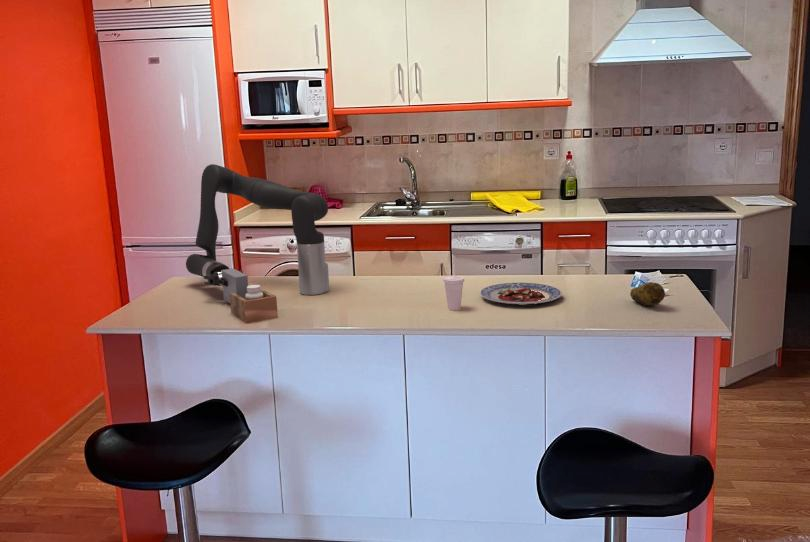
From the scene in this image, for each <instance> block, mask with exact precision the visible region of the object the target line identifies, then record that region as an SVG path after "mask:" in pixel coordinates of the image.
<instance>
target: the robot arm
mask: <svg viewBox="0 0 810 542" xmlns="http://www.w3.org/2000/svg"><path fill="white" fill-rule="evenodd" d="M217 193H221V194H228V195H234V196H238V197H241V198H243V199H245V200H246V201H248V202H249V203H252V204H254V205H257V206H260V207H262V208H267V209H272V210H286V211H291V219H292V220H291V222H292V229H293V234H294V237H295V240H296V252H297V253H296V254H297V266H298V267H297V268H298V282H299V284H298V285H299V293H300V294H302V295H304V296H305V295H306V296H313V295H320V294H321V295H322V294H325V293H327V292H330V279H329V276H330V275H329V265H328V263H327V262H326V249H325V235H324V233H323V232H322V231H319V230H317V228H316V223H315V222H317V221H320V220H322V219H324V218H325V217H326V216H327V214H328V211H329V205H328V203H327V200H326V199H325V198H324V196H322V195H320V194H318V193H316V192H315V193H314V192H308V191H302V190H298V189H294V188H292V187H290V186H289V187H288V186H286V185H283V184H280V183H277V182H274V181H270V180H268V179H265V178H260V177H254V176H253V177H251V176H249V177H248V176H245V175H244V174H243V175H242V174H241V173H238V172H236V171H235V170H232V169H230V168H228V167H224V166H222V165H218V164H213V163H212V164H208V165H207V166H205V168H204V169H203V172H202V175H201V182H200V213H199V222H198V228H197V233H196V238H195V246H196V247H198V248H200V249H202V250H204V251H205V252H206V255H205V254H200V253H192V254H190V255H189V256H188V257H187V259H186V261H185V268H186V270H187V271H188V273H190V274H192V275H196V276H201V277H202V278H203V281H204V282H203V284H205V285H210V286H215V287H223V286H225V287H228V281H227V280H226V279H225V278H223V277H222V272H221V270H226V269H230V266H228V265H226V264H224V263H223V262H221V261H218V260H217V255H216V254H217V253H216V246H217V245H216V244H217V238H218V233H219V219H218V214H217V210H216V195H217ZM238 271H239V272H241V273H243V274H244V270H238Z"/></svg>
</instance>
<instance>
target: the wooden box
mask: <svg viewBox="0 0 810 542" xmlns="http://www.w3.org/2000/svg"><path fill="white" fill-rule="evenodd" d="M260 289H261V290H260V292H262V293H263V297H264V298H258V299H252V300H246V299H244V298H242V297H240V296H239V295H237V294H235V293H230V303H229V304H230V314H232V315H233V316H235V317H236V318H237V319H239V320H241V321H242V322H244V323H245V324H249V323H254V322H261V321H266V320H270V319H275V318H279V316H278V315H279V313H278V304H277V303H278V302H277V299H278V298H277V296H276V295H275V294H273V293H272V292H271V293H270V292H268V291H267V290H264V289H263V288H261V287H260Z"/></svg>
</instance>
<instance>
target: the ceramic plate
mask: <svg viewBox="0 0 810 542" xmlns="http://www.w3.org/2000/svg"><path fill="white" fill-rule="evenodd" d="M531 290H532V291H531ZM533 290H534V291H533ZM535 291H537V292H535ZM538 291H541V292H544V293H547V294H548V295H549V298H548V299H545V300H541V299H542V298H545V296H544V295H543V294H542V293H540V292H538ZM479 292H480V293H479V294H480V296H481V297H483V298H484V299H486V300H489V301H492V302H495V303H496V302H497V303H500V302H501V303H500V304H503V303H507V304H506V305H509V304H534V305H536V304H535V303H539V304H543V303H547V302H552V301H555V300H557V299H559V298H561V297H562V295H563V292H562V291H561V289H560V288H557V287H555V286H554V285H548V284H542V283H538V282H537V283H536V282H505V283H504V282H503V283H497V284H492V285H489V286H486V287H484V288H483V289H481V290H480V291H479ZM538 300H541V301H538Z"/></svg>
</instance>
